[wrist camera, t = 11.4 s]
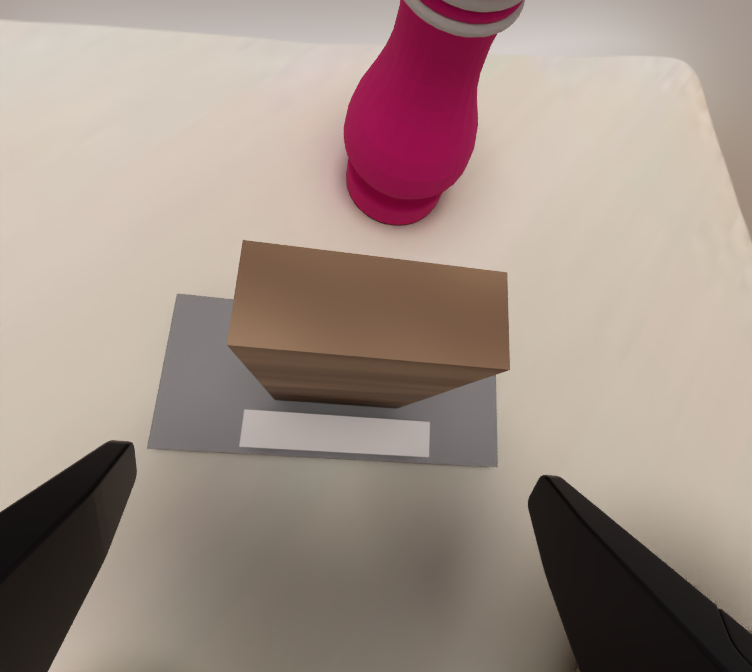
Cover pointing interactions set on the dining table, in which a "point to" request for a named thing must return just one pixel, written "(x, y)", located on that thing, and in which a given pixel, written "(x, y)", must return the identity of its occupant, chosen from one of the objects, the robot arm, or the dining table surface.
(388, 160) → the pepper mill
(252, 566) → the dining table surface
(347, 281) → the door
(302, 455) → the board
